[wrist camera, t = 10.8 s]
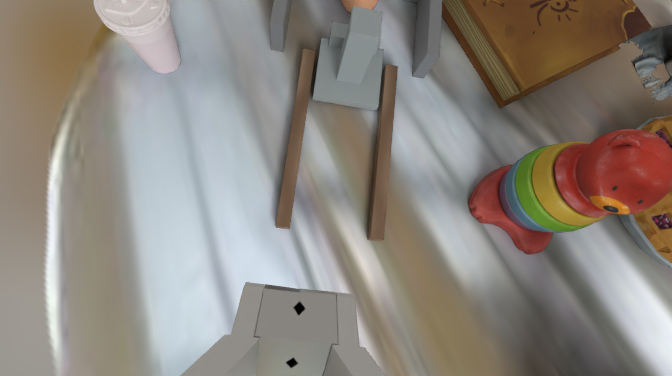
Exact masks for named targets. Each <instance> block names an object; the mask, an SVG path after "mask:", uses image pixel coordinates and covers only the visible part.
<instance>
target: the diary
mask: <svg viewBox="0 0 672 376" xmlns="http://www.w3.org/2000/svg"><path fill="white" fill-rule="evenodd" d="M442 17H443V18H444V20H445V22H446V23H447V25H448V26H449V28H450V29H451V31H452V33H453V34H454V36H455V37H456V39H457V41H458V42H459V44H460V45H461V47H462V49H463V50H464V52H465V53H466V55H467V57H468V58H469V60H470V61H471V63H472V65H473V66H474V68H475V69H476V71H477V73H478V74H479V76H480V77H481V79H482V80H483V82H484V84H485V85H486V87H487V88H488V90H489V92H490V93H491V95H492V96H493V98H494V100H495V101H496V103H497V104H498V106H499V108H501V107H503V106H505V105H507V104H509V103H511V102H513V101H515V100H517V99H519V98H521V97H524V96H526V95H528V94H530V93H532V92H534V91H536V90H538V89H540V88H542V87H544V86H546V85H548V84H550V83H552V82H554V81H556V80H558V79H560V78H562V77H564V76H566V75H568V74H570V73H572V72H574V71H576V70H578V69H580V68H582V67H584V66H586V65H588V64H590V63H592V62H594V61H596V60H598V59H601V58H603V57H605V56H607V55H609V54H611V53H613V52H615V51H617V50H618V49H620V47H619V46H618V45H619V44H621V43H623V42H625V41H627V40H629V39H631V38H633V37H636V36H638V35H640V34H642V33H644V32H646V31H647V30H649V29H650V28H652V27H651V25H650V24H649V22H648V21H647V20H646V18H645V17H644V16H643V14H642V13H641V11H640V10H639V9H638V7H637V6H636V4H635V3H634V2H633V0H442Z"/></svg>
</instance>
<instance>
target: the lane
mask: <svg viewBox="0 0 672 376" xmlns="http://www.w3.org/2000/svg"><path fill="white" fill-rule="evenodd" d="M314 58H315V50H310V49H304V48H303V55H302V61H301V68H300V74H299V80H298V87H297V93H296V100H295V106H294V112H293V119H292V125H291V132H290V138H289V144H288V151H287V157H286V163H285V170H284V176H283V183H282V189H281V195H280V202H279V208H278V215H277V221H276V228H284V229H290V222H291V215H292V208H293V202H294V195H295V188H296V181H297V174H298V167H299V161H300V154H301V147H302V140H303V133H304V126H305V120H306V113H307V106H308V99H309V92H310V86H311V79H312V72H313V65H314ZM397 69H398V66H393V65H388V64H386V66H385V68H384V70H383V76H382V87H381V98H380V109H379V120H378V131H377V142H376V152H375V163H374V174H373V185H372V196H371V207H370V218H369V229H368V240H375V241H382V240H384V231H385V219H386V206H387V194H388V181H389V169H390V156H391V144H392V131H393V119H394V106H395V94H396V81H397Z"/></svg>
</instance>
